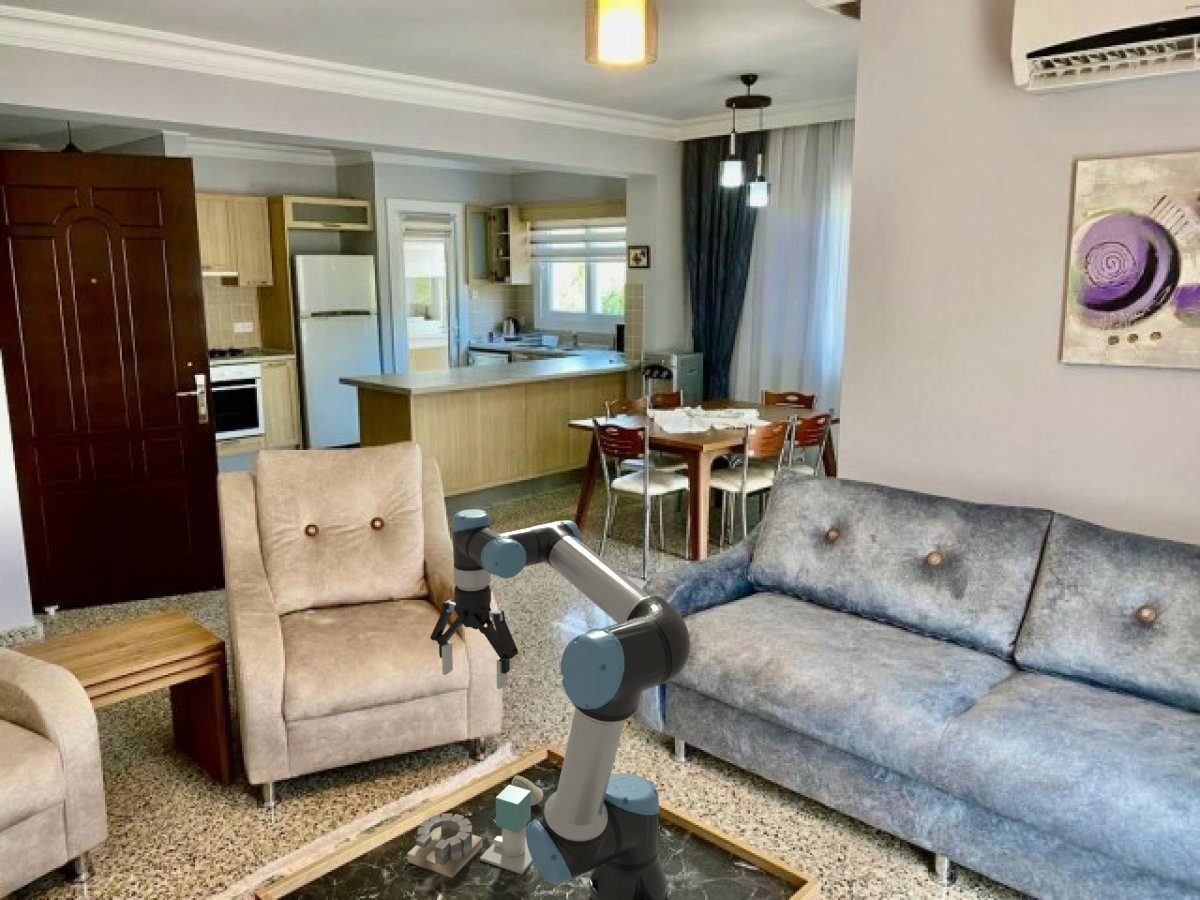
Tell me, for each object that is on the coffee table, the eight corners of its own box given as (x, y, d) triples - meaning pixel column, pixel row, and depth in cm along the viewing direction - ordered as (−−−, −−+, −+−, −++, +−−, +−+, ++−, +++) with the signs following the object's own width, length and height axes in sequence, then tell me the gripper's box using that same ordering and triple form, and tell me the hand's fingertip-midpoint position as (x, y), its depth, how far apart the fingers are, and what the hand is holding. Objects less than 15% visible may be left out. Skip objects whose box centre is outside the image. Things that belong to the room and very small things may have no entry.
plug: (531, 846, 191) (530, 790, 189) (518, 861, 187) (517, 804, 184) (502, 837, 194) (501, 782, 191) (489, 851, 190) (488, 795, 187)
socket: (482, 846, 192) (481, 822, 191) (452, 877, 183) (451, 852, 181) (439, 832, 197) (438, 808, 196) (407, 861, 187) (406, 837, 186)
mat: (546, 845, 192) (546, 843, 192) (522, 874, 184) (522, 871, 184) (505, 832, 197) (505, 830, 197) (480, 860, 188) (480, 857, 188)
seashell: (508, 813, 200) (497, 781, 205) (518, 826, 206) (507, 794, 211) (542, 796, 201) (530, 764, 206) (551, 809, 207) (539, 778, 212)
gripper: (534, 588, 186) (534, 684, 191) (433, 568, 196) (436, 659, 201) (515, 601, 179) (516, 700, 184) (412, 579, 190) (415, 673, 195)
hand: (474, 679), depth 193 cm, fingers open, 13 cm apart
